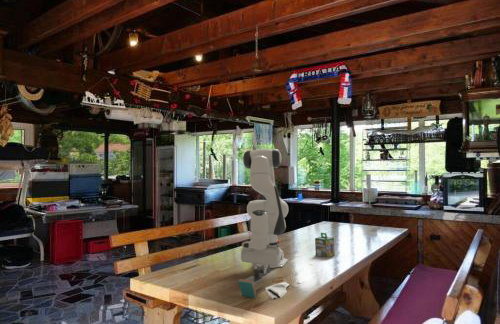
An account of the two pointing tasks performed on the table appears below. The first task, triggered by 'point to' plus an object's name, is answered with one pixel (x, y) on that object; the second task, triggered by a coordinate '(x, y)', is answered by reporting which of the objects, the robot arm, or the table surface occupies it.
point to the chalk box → (324, 246)
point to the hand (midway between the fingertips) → (260, 272)
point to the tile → (247, 288)
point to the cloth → (277, 290)
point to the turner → (258, 274)
